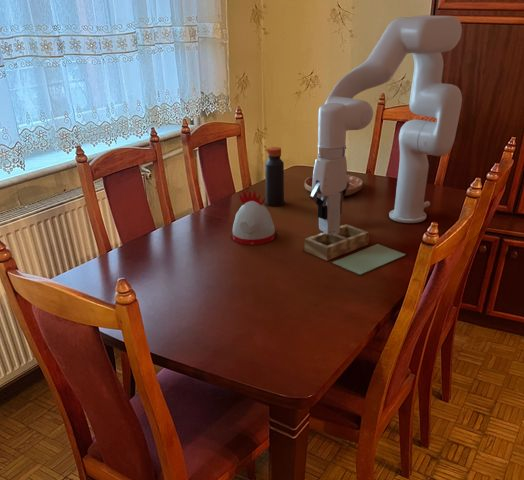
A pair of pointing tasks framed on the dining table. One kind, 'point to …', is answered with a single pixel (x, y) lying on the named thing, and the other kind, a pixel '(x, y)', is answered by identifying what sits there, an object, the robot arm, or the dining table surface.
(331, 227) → the cosmetic box
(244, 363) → the dining table surface
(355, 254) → the placemat
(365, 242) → the rack
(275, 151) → the bottle
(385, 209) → the dining table surface
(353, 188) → the shallow brown bowl
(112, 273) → the dining table surface
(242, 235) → the kitchen timer
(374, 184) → the dining table surface
